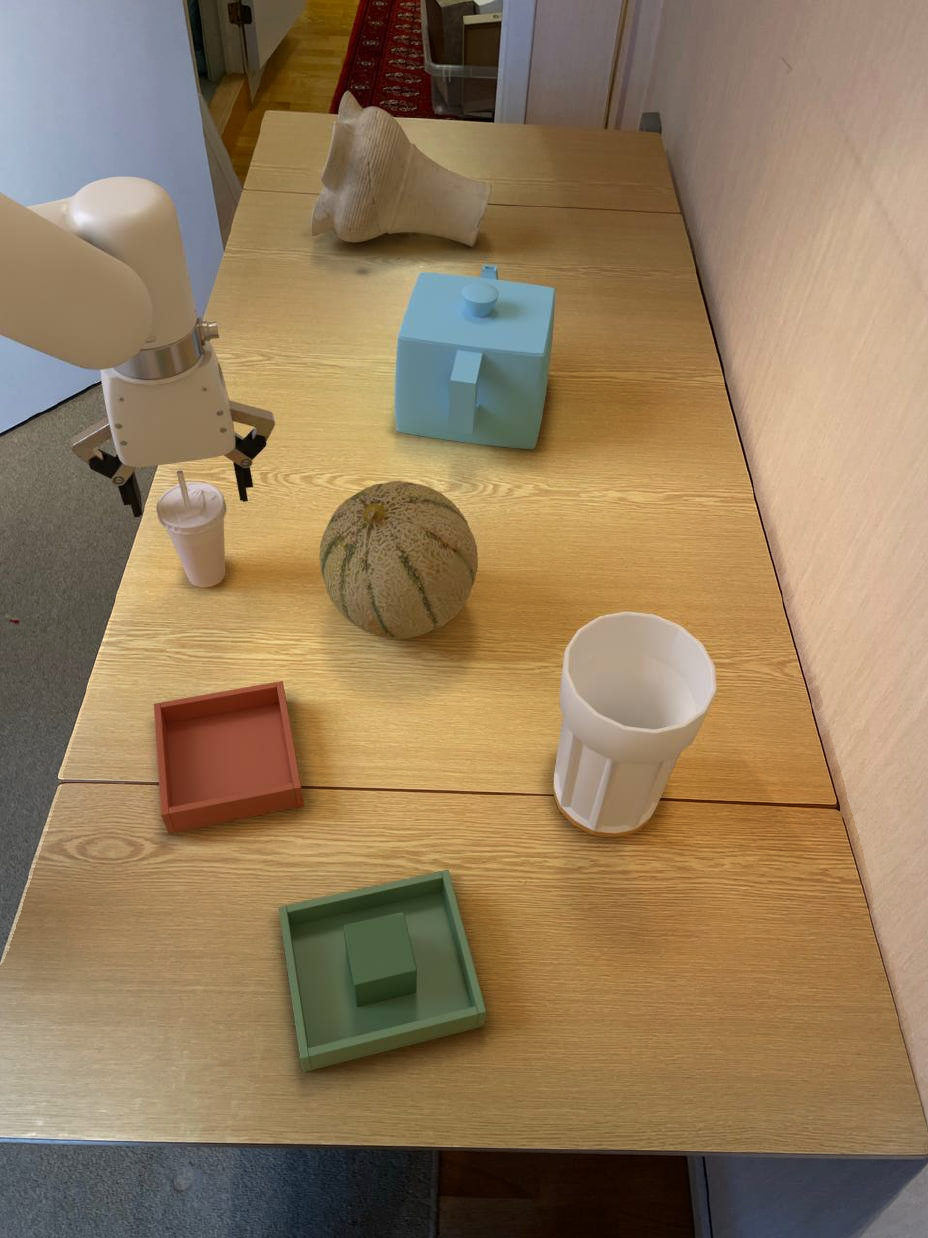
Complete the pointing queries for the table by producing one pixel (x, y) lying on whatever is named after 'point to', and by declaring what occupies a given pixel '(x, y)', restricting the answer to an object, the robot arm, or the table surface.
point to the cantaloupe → (398, 559)
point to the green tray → (326, 986)
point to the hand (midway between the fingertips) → (190, 499)
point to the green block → (380, 959)
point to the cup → (627, 718)
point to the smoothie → (196, 529)
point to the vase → (391, 184)
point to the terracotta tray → (225, 757)
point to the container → (474, 359)
